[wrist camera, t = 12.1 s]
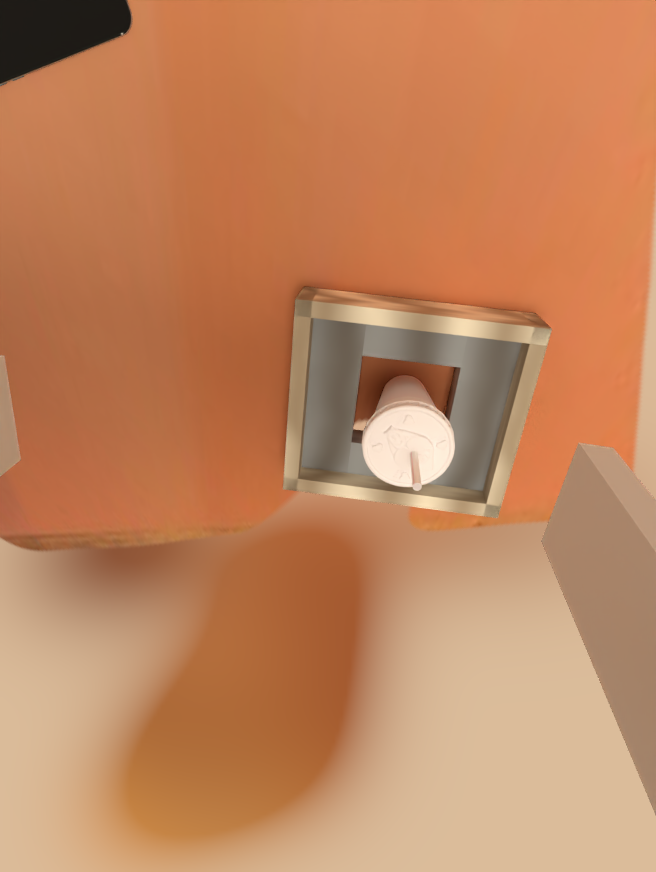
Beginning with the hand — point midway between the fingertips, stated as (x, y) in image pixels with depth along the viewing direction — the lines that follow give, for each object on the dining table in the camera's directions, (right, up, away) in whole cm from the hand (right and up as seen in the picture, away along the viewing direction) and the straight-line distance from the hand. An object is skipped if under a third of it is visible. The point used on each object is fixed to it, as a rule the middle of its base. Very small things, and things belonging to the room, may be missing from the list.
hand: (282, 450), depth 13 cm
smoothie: (+7, +4, +33) cm, 34 cm away
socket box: (+7, +4, +33) cm, 34 cm away
